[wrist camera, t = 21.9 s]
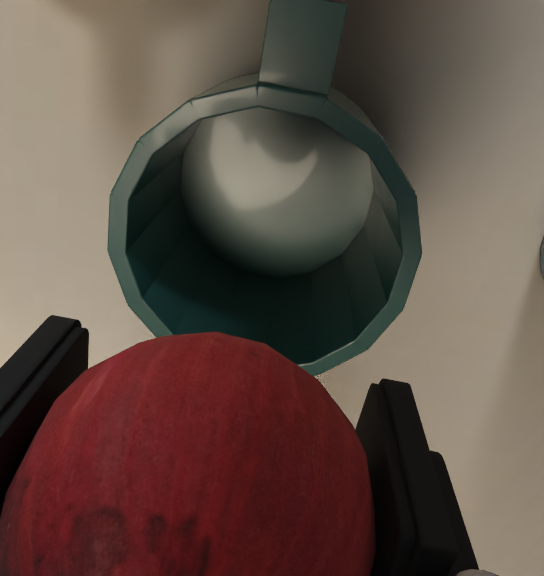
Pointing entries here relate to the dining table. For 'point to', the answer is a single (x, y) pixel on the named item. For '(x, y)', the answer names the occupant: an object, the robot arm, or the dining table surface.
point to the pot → (269, 207)
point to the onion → (191, 471)
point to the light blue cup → (542, 258)
